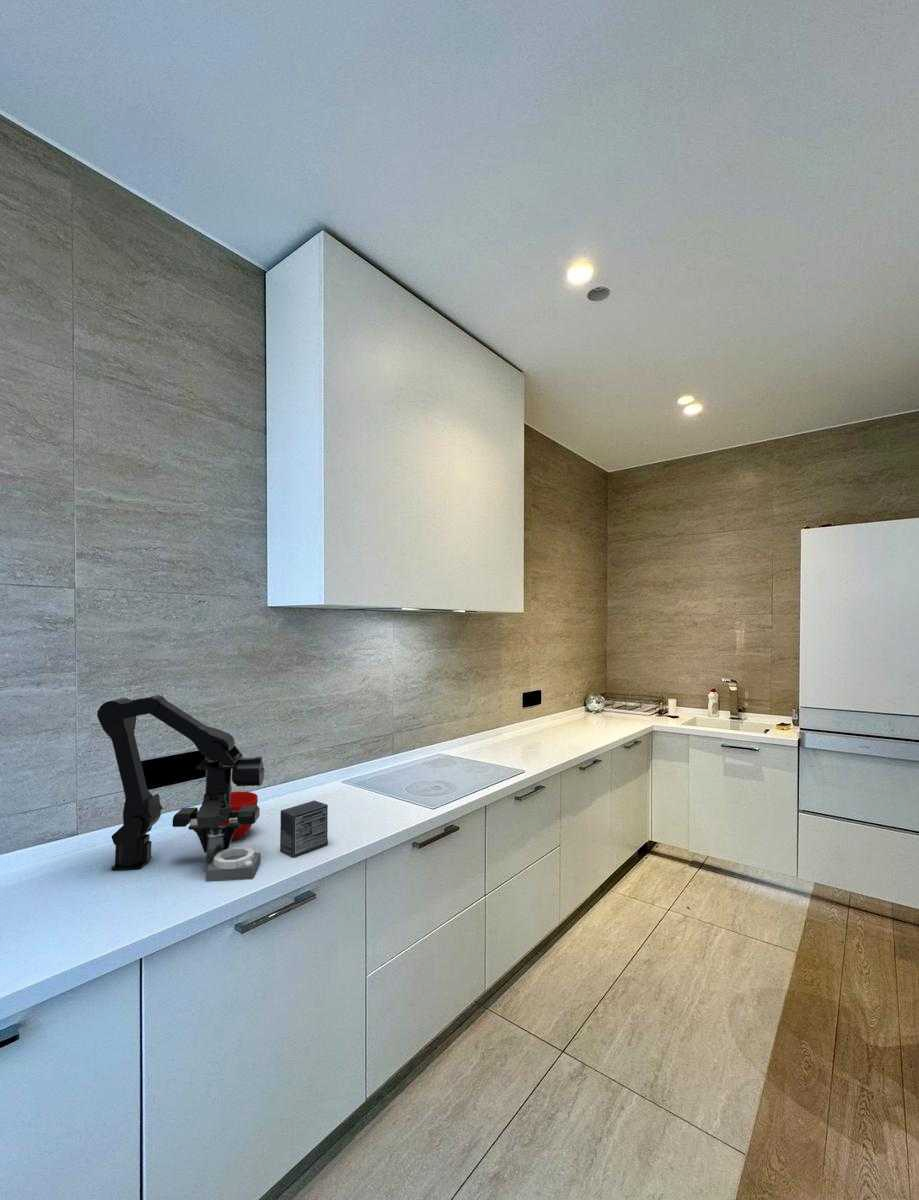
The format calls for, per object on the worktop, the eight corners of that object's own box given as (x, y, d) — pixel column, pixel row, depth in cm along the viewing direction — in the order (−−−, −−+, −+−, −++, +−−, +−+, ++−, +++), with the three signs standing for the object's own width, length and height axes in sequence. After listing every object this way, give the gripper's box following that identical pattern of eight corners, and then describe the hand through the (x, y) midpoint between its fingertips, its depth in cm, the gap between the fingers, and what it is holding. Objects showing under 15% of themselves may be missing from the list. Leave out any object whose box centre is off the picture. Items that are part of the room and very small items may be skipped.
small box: (313, 838, 145) (314, 799, 145) (328, 845, 141) (329, 804, 141) (278, 851, 137) (279, 809, 137) (293, 858, 133) (294, 815, 133)
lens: (202, 865, 128) (203, 830, 129) (208, 856, 133) (209, 823, 134) (223, 864, 129) (224, 829, 129) (228, 855, 134) (229, 822, 134)
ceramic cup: (272, 823, 156) (272, 788, 156) (241, 847, 139) (242, 807, 139) (229, 821, 157) (230, 786, 158) (194, 844, 140) (195, 805, 141)
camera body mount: (205, 881, 120) (205, 863, 120) (216, 865, 128) (217, 848, 129) (252, 879, 122) (252, 860, 122) (260, 863, 130) (260, 846, 130)
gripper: (164, 798, 123) (161, 868, 122) (250, 795, 125) (248, 864, 125) (182, 783, 134) (180, 848, 133) (260, 781, 136) (259, 844, 136)
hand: (216, 851), depth 131 cm, fingers closed on lens, 4 cm apart
